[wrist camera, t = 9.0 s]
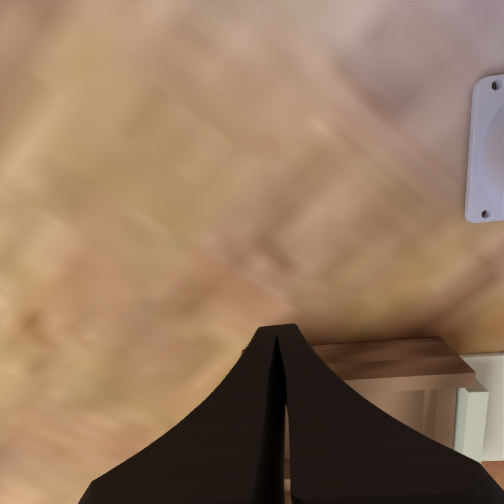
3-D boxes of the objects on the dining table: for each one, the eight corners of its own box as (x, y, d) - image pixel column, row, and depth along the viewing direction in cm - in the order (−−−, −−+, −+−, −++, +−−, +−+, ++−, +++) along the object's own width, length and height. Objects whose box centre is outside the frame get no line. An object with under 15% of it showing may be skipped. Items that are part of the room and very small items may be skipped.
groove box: (439, 336, 20) (476, 372, 17) (432, 468, 23) (462, 522, 20) (242, 350, 22) (236, 386, 18) (260, 473, 25) (258, 525, 21)
